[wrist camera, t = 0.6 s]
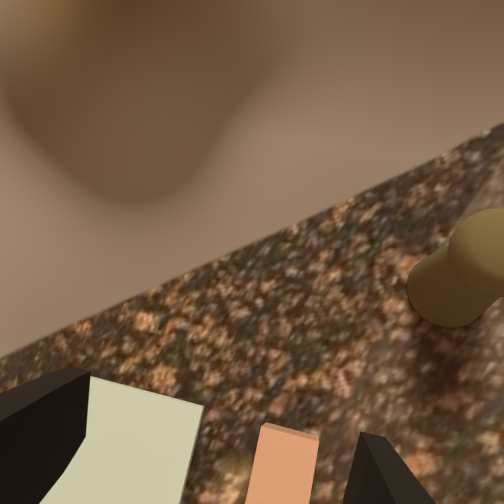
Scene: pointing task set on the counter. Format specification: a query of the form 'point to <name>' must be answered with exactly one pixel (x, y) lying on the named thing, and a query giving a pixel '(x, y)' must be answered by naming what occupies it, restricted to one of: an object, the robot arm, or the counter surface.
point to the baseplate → (130, 449)
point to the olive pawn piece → (461, 273)
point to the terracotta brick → (282, 466)
